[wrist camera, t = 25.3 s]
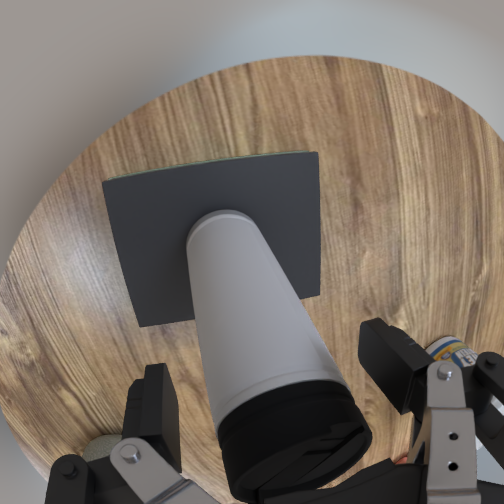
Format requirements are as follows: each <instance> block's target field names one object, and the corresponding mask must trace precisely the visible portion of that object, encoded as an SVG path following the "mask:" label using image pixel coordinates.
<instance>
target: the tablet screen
mask: <svg viewBox="0 0 504 504" xmlns="http://www.w3.org/2000/svg"><path fill="white" fill-rule="evenodd" d="M102 186H103V191H104V196H105V201H106V206H107V211H108V215H109V220H110V224H111V229H112V233H113V237H114V241H115V245H116V249H117V253H118V257H119V261H120V264H121V268H122V272H123V275H124V279H125V282H126V286H127V289H128V292H129V296H130V299H131V302H132V305H133V308H134V312H135V315H136V318H137V321H138V324H139V327H147V326H154V325H161V324H168V323H174V322H180V321H187V320H193V319H195V313H194V306H193V299H192V292H191V284H190V276H189V268H188V259H187V251H186V241H187V237H188V234H189V231H190V230H191V228H192V227H193V225H194V224H195V223H196V222H197V221H198V220H199V219H200V218H202V217H203V216H205V215H206V214H209V213H211V212H214V211H218V210H227V209H228V210H236V211H239V212H241V213H244V214H245V215H247V216H249V217H250V218H251V219H252V220H253V221H254V223H255V224H256V225H257V227H258V229H259V230H260V232H261V234H262V235H263V237H264V239H265V241H266V242H267V244H268V246H269V247H270V249H271V251H272V253H273V254H274V256H275V258H276V260H277V261H278V263H279V265H280V266H281V268H282V270H283V272H284V273H285V275H286V277H287V279H288V280H289V282H290V284H291V286H292V287H293V289H294V291H295V293H296V294H297V296H298V298H299V299H304V298H309V297H314V296H318V295H320V265H321V233H320V184H319V158H318V152H300V153H288V154H276V155H266V156H256V157H247V158H238V159H230V160H222V161H215V162H208V163H201V164H194V165H187V166H181V167H175V168H169V169H163V170H157V171H152V172H146V173H141V174H136V175H130V176H125V177H120V178H116V179H111V180H106V181H104V182H102Z"/></svg>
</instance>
